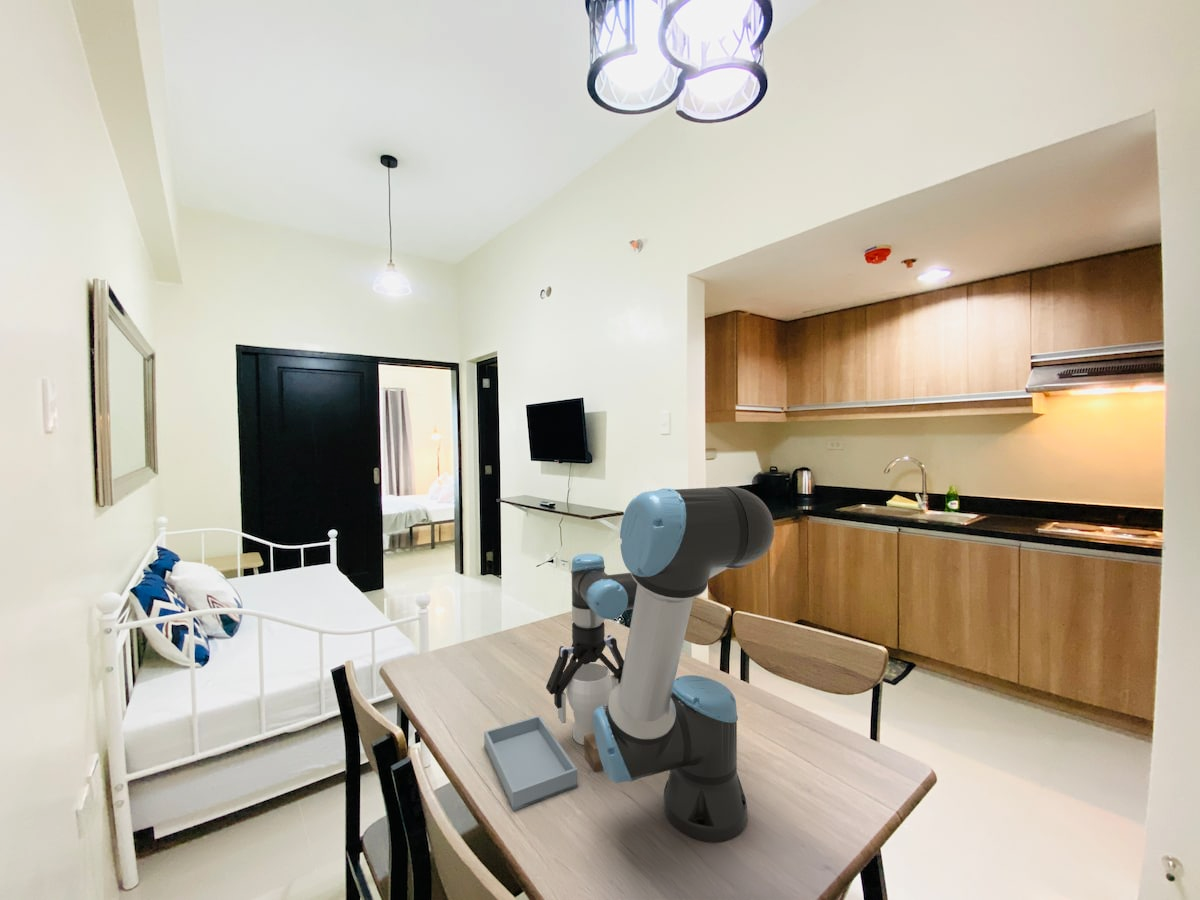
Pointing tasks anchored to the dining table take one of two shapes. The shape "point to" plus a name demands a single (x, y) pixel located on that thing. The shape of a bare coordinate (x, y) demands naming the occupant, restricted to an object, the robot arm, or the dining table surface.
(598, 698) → the cup
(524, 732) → the tray
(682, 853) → the dining table surface
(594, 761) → the walnut cube
